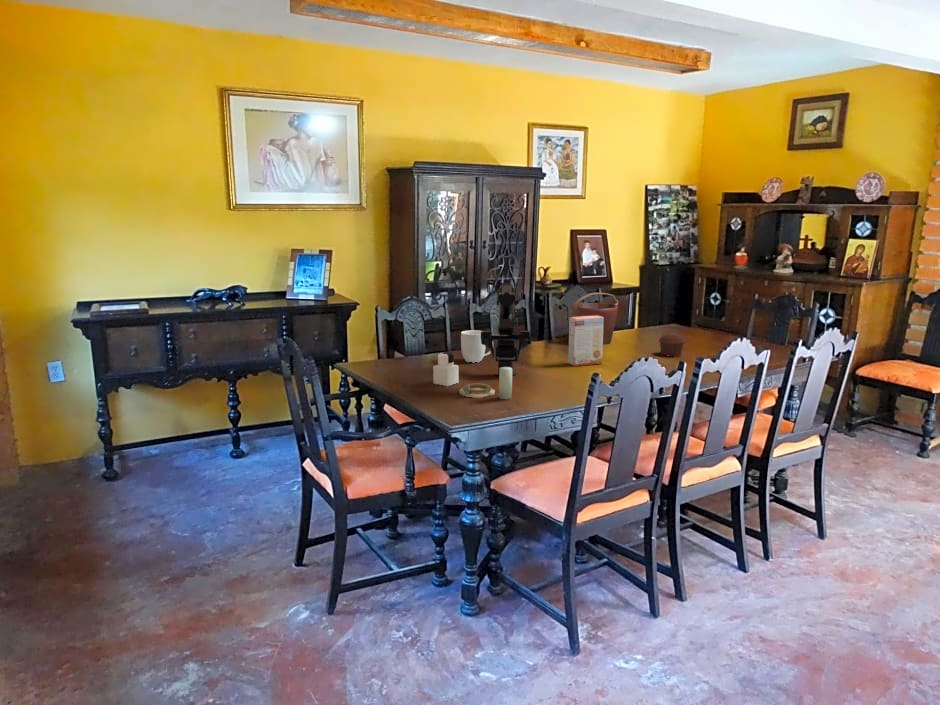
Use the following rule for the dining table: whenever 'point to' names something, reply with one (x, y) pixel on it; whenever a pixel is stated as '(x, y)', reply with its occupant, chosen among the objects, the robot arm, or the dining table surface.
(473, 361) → the mug
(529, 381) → the dining table surface
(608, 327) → the bucket
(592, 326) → the cracker box
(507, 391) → the post
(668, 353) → the muffin
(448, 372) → the medicine bottle
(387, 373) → the dining table surface
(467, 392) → the flange plate
